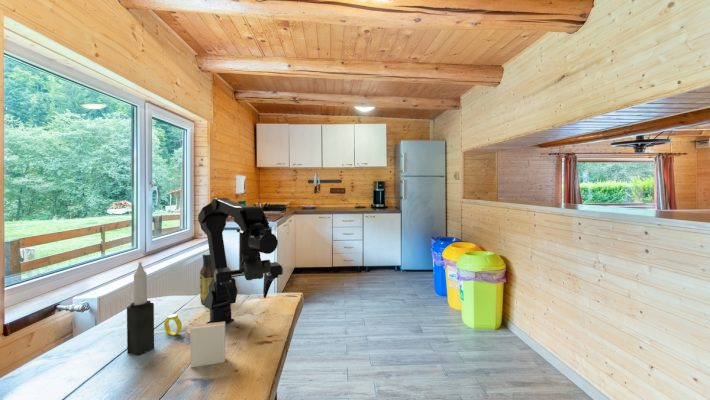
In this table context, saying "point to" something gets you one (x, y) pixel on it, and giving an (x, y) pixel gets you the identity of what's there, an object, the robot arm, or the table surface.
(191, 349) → the tile
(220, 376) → the table surface
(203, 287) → the sauce bottle
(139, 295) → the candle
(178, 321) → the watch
